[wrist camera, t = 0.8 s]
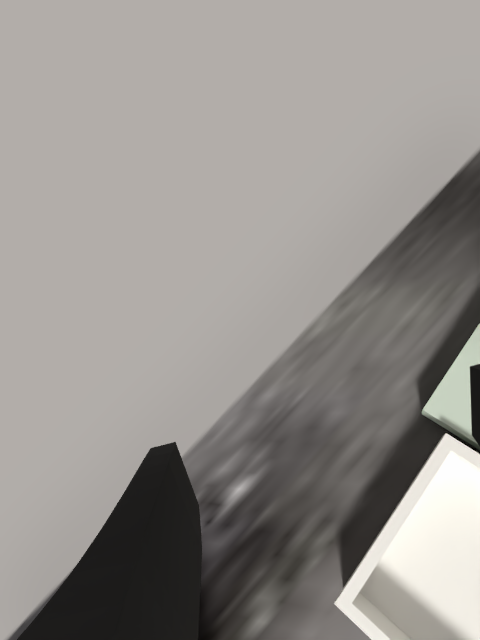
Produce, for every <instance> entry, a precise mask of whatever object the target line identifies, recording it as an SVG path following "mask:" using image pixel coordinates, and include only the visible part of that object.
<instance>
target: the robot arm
mask: <svg viewBox="0 0 480 640" xmlns="http://www.w3.org/2000/svg"><path fill="white" fill-rule="evenodd" d="M470 392H471V425H472V436H473V438H474V439H475V441H476V442H477V443H478V445H479V446H480V364H477V365H473V366H470ZM201 560H202V542H201V526H200V514H199V504H198V502H197V499H196V496H195V494H194V491H193V488H192V485H191V483H190V480H189V477H188V475H187V472H186V469H185V467H184V464H183V461H182V458H181V456H180V453H179V450H178V448H177V445H176V442H174V443H170V444H166V445H162V446H158V447H154V448H151V449H150V450H149V452H148V454H147V455H146V457H145V458H144V460H143V462H142V463H141V465H140V467H139V468H138V470H137V472H136V474H135V475H134V477H133V479H132V480H131V482H130V484H129V485H128V487H127V489H126V490H125V492H124V494H123V495H122V497H121V499H120V500H119V502H118V503H117V505H116V507H115V508H114V510H113V512H112V513H111V515H110V516H109V518H108V519H107V521H106V523H105V524H104V526H103V527H102V529H101V530H100V532H99V533H98V535H97V536H96V538H95V539H94V541H93V543H92V544H91V545H90V547H89V548H88V549H87V551H86V552H85V554H84V555H83V557H82V558H81V560H80V561H79V563H78V564H77V565H76V567H75V568H74V569H73V571H72V572H71V574H70V575H69V576H68V578H67V579H66V580H65V581H64V583H63V584H62V585H61V587H60V588H59V589H58V591H57V592H56V593H55V594H54V596H53V597H52V598H51V599H50V601H49V602H48V603H47V604H46V606H45V607H44V608H43V609H42V611H41V612H40V613H39V614H38V616H37V617H36V618H35V619H34V620H33V622H32V623H31V624H30V625H29V626H28V627H27V629H26V630H25V631H24V632H23V633H22V634H21V635H20V637H19V638H18V639H17V640H198V631H199V608H200V586H201Z"/></svg>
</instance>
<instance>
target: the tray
mask: <svg viewBox="0 0 480 640" xmlns="http://www.w3.org/2000/svg"><path fill="white" fill-rule="evenodd" d="M335 605H336V606H337V607H338V608H339V609H340V610H341V611H342V612H343V613H344V614H345V615H347V616H348V617H349V618H350V619H351V620H352V621H353V622H354V623H355V624H356V625H357V626H358V627H359V628H360V629H361V630H362V631H363V632H364V633H365V634H366V635H367V636H368V637H369V638H370V639H372V640H480V454H479V453H477V452H476V451H474V450H472V449H471V448H469V447H468V446H466V445H464V444H463V443H461V442H460V441H458V440H456V439H455V438H453V437H452V436H450V435H449V434H447V433H445V434H444V435H443V436H442V437H441V439H440V440H439V442H438V444H437V445H436V447H435V448H434V450H433V451H432V453H431V454H430V456H429V457H428V459H427V460H426V462H425V463H424V465H423V467H422V468H421V470H420V471H419V473H418V474H417V476H416V477H415V479H414V480H413V482H412V483H411V485H410V486H409V488H408V490H407V491H406V493H405V494H404V496H403V497H402V499H401V500H400V502H399V503H398V505H397V506H396V508H395V509H394V511H393V512H392V514H391V516H390V517H389V519H388V520H387V522H386V523H385V525H384V526H383V528H382V529H381V531H380V532H379V534H378V535H377V537H376V539H375V540H374V542H373V543H372V545H371V546H370V548H369V549H368V551H367V552H366V554H365V555H364V557H363V558H362V560H361V562H360V563H359V565H358V566H357V568H356V569H355V571H354V572H353V574H352V575H351V577H350V578H349V580H348V581H347V583H346V584H345V586H344V588H343V589H342V591H341V593H340V595H339V596H338V598H337V600H336V602H335Z"/></svg>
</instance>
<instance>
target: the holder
mask: <svg viewBox="0 0 480 640" xmlns="http://www.w3.org/2000/svg"><path fill="white" fill-rule="evenodd" d="M477 364H480V323H479V325H478V326H477V328H476V329H475V331H474V332H473V334H472V335H471V337H470V338H469V340H468V342H467V343H466V345H465V346H464V348H463V349H462V351H461V352H460V354H459V355H458V357H457V358H456V360H455V361H454V363H453V364H452V366H451V367H450V369H449V370H448V372H447V373H446V375H445V376H444V378H443V379H442V381H441V382H440V384H439V386H438V387H437V389H436V390H435V392H434V393H433V395H432V396H431V398H430V399H429V401H428V402H427V404H426V405H425V407H424V408H423V410H422V415H424V416H426V417H427V418H429V419H430V420H432V421H434V422H435V423H437V424H438V425H440V426H442V427H443V428H445V429H446V430H448V431H450V432H451V433H453V434H454V435H456V436H458V437H459V438H461V439H462V440H464V441H466V442H467V443H469V444H470V445H472V446H474V447H475V448H477V449H478V450H480V446H479V445H478V443H477V442H476V441H475V439H474V438H473V436H472V425H471V392H470V366H473V365H477Z"/></svg>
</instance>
